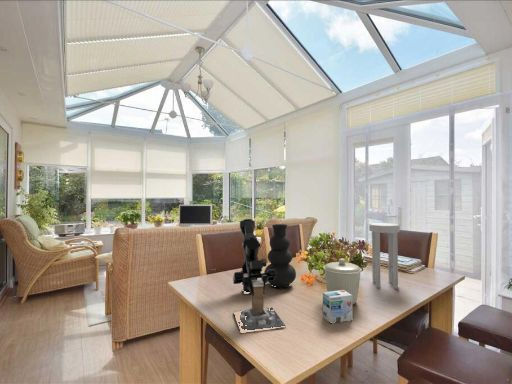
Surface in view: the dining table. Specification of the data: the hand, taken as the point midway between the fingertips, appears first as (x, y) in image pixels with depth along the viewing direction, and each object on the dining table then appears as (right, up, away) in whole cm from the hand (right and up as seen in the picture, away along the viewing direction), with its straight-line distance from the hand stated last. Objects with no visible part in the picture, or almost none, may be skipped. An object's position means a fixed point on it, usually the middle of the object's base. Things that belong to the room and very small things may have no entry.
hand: (258, 295), depth 112 cm
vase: (+13, -12, +44) cm, 48 cm away
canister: (+41, -11, +20) cm, 48 cm away
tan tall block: (0, -7, +1) cm, 7 cm away
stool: (+74, -11, +45) cm, 87 cm away
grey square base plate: (0, -11, +1) cm, 11 cm away
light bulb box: (+33, -11, +2) cm, 35 cm away
